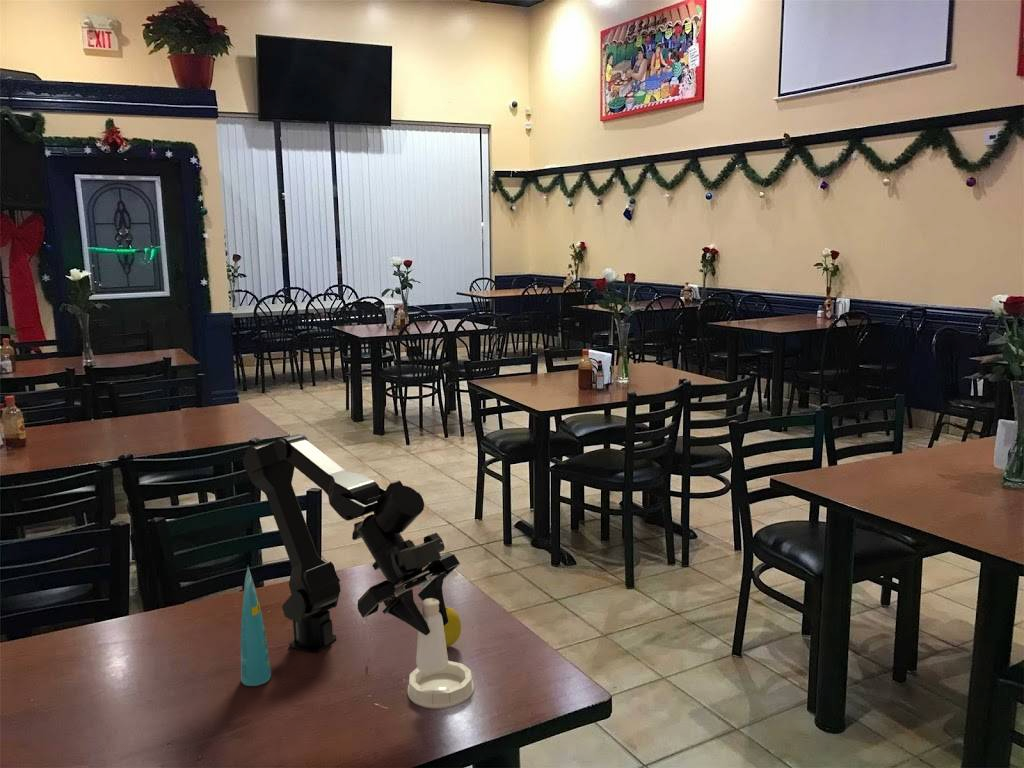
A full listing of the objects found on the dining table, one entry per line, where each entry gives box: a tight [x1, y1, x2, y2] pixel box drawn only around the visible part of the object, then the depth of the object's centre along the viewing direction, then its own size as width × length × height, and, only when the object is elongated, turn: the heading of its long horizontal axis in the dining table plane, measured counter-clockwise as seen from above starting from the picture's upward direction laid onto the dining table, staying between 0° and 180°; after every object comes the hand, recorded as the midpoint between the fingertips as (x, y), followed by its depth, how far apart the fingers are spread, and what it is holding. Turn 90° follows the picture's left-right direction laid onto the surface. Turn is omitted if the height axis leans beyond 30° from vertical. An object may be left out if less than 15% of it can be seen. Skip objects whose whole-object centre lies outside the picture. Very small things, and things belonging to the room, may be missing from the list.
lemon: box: [443, 605, 462, 648], centre depth 148 cm, size 6×6×8 cm
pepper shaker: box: [415, 598, 449, 673], centre depth 130 cm, size 5×5×11 cm
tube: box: [240, 565, 272, 687], centre depth 137 cm, size 7×5×19 cm, turn 26°
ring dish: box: [407, 660, 475, 710], centre depth 134 cm, size 11×11×2 cm
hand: (437, 628), depth 129 cm, fingers closed on pepper shaker, 4 cm apart
